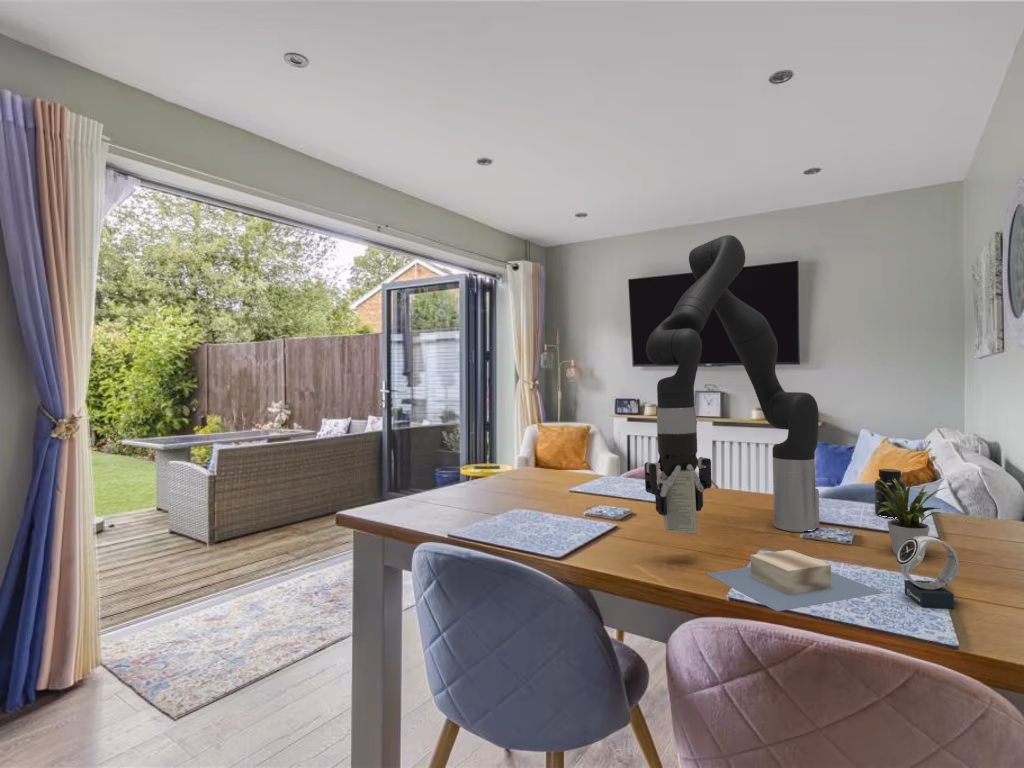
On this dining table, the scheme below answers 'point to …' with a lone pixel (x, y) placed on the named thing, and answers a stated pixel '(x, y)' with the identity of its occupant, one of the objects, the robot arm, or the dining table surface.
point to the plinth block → (790, 571)
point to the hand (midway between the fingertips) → (679, 512)
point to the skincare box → (681, 503)
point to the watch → (927, 591)
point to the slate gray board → (782, 601)
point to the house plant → (906, 515)
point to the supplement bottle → (887, 478)
